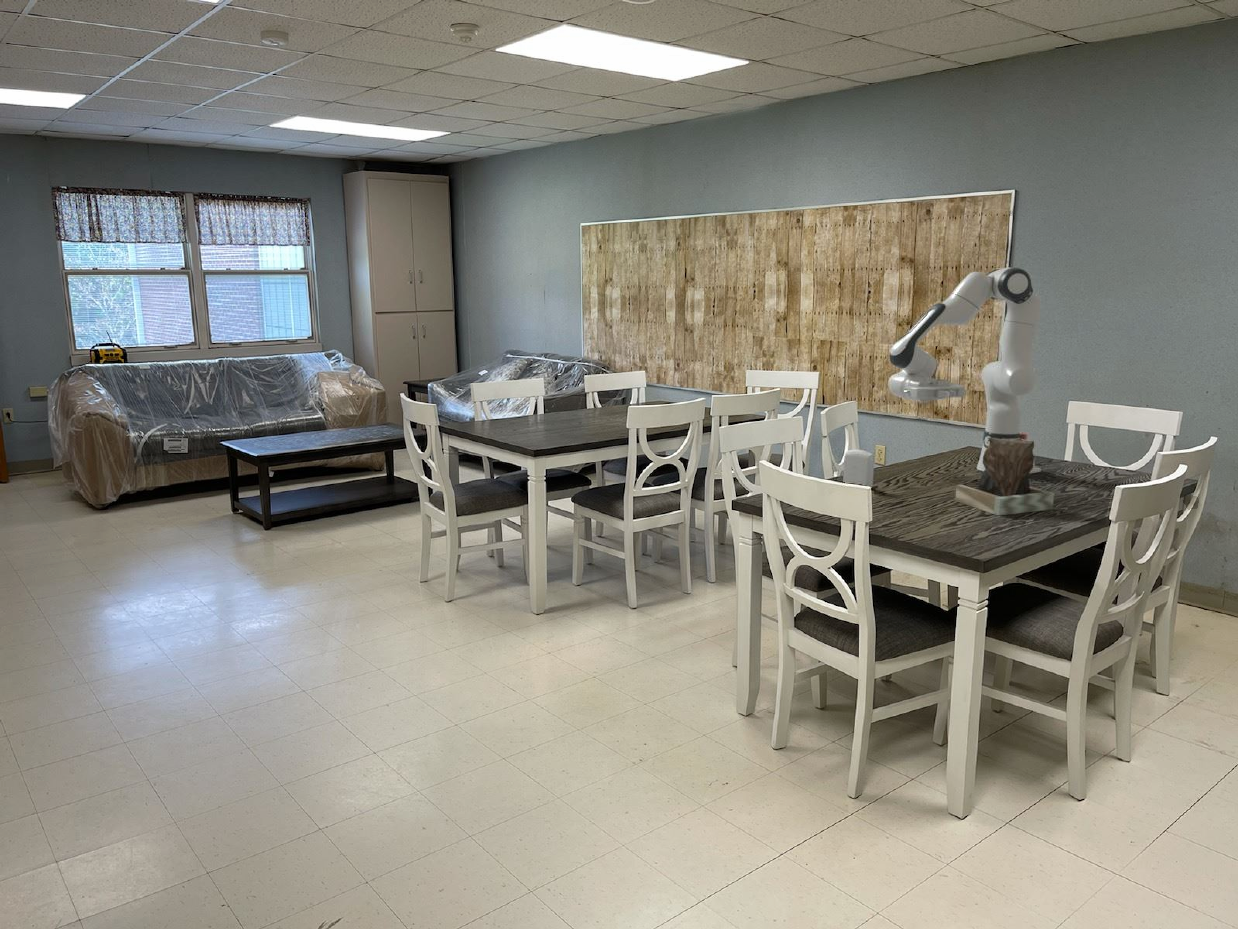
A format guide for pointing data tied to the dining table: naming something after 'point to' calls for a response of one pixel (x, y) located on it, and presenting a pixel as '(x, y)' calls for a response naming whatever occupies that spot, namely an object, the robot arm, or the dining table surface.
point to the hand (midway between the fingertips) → (952, 394)
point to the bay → (1005, 500)
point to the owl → (1007, 467)
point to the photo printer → (858, 467)
